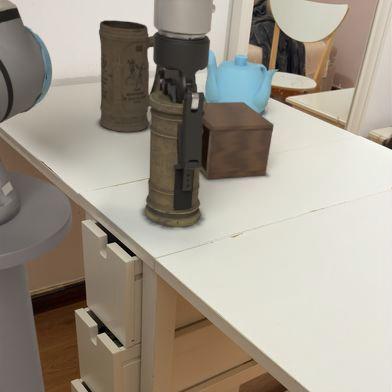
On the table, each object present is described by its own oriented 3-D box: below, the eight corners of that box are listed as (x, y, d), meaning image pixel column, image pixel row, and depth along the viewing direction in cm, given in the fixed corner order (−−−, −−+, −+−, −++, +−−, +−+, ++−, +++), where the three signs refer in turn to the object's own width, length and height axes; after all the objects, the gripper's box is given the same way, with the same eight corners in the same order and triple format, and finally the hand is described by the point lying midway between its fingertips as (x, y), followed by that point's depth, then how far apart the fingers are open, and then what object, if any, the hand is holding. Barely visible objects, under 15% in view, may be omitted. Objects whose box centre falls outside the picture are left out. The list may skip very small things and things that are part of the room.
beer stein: (116, 135, 113) (120, 27, 101) (87, 121, 119) (88, 17, 107) (170, 129, 122) (180, 29, 110) (142, 116, 128) (148, 20, 116)
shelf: (207, 179, 99) (212, 126, 93) (184, 151, 109) (187, 103, 103) (265, 175, 103) (273, 124, 97) (237, 149, 113) (243, 101, 107)
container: (198, 230, 83) (208, 109, 72) (141, 224, 83) (142, 103, 72) (201, 205, 90) (211, 92, 79) (148, 200, 90) (151, 86, 78)
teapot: (199, 117, 128) (203, 60, 120) (200, 96, 142) (204, 44, 134) (270, 123, 128) (279, 67, 120) (264, 101, 142) (272, 50, 134)
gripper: (239, 51, 64) (219, 224, 78) (184, 19, 78) (175, 169, 93) (180, 50, 61) (170, 228, 76) (134, 17, 76) (134, 171, 91)
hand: (173, 195), depth 84 cm, fingers closed on container, 8 cm apart
